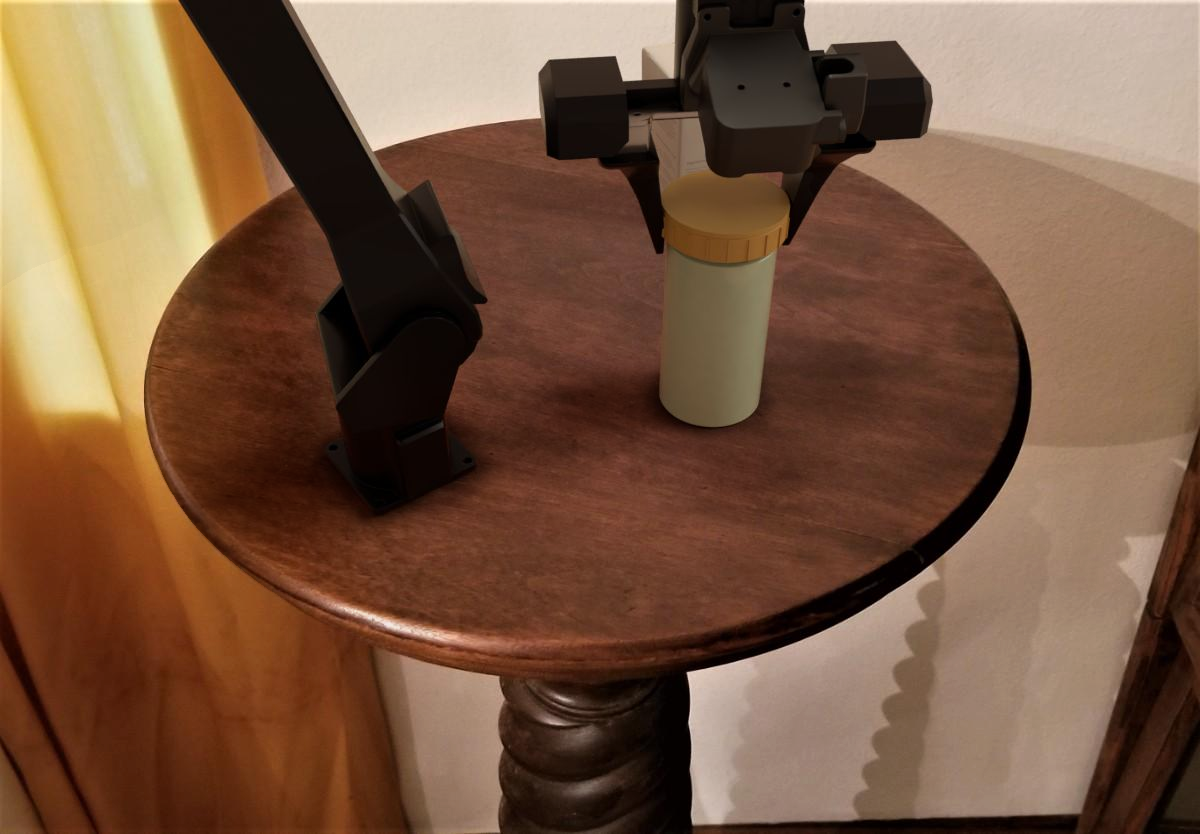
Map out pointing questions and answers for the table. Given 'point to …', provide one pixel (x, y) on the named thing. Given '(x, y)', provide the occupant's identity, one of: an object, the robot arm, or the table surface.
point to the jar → (714, 337)
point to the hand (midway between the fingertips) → (720, 246)
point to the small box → (672, 124)
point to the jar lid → (724, 216)
